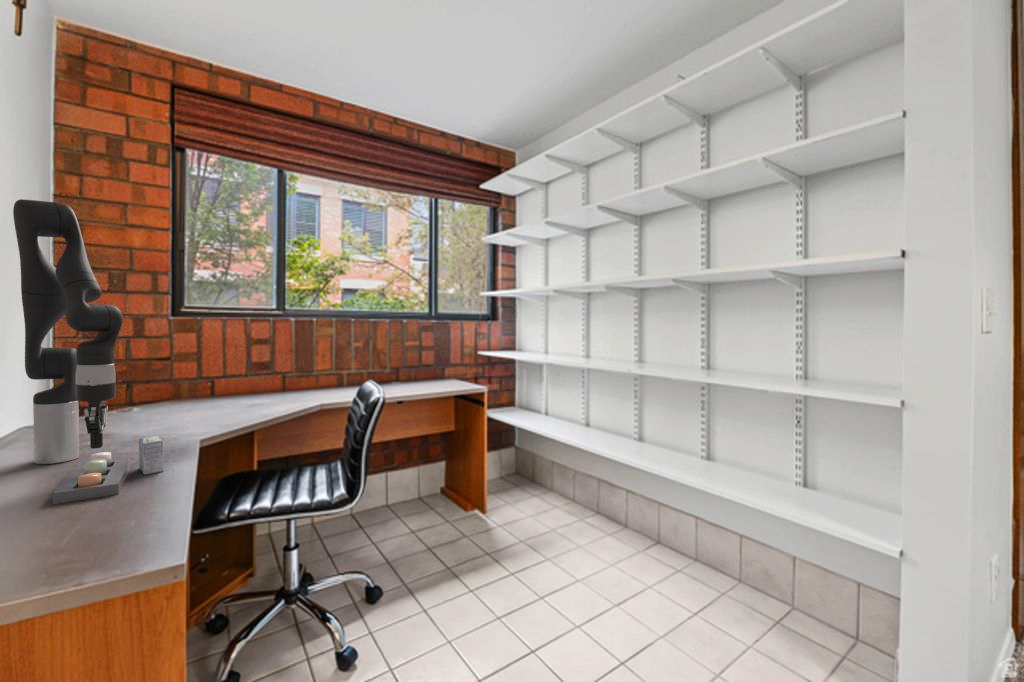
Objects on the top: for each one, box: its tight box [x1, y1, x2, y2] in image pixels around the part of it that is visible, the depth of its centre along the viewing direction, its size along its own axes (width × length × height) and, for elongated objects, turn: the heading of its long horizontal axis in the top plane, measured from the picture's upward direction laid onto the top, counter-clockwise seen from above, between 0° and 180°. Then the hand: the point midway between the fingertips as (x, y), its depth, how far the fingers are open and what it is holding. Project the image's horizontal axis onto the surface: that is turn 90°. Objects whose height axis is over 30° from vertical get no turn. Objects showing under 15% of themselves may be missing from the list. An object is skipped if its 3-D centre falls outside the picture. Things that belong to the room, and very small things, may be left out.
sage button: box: [84, 459, 107, 474], centre depth 111 cm, size 4×4×3 cm
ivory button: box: [90, 451, 112, 466], centre depth 117 cm, size 4×4×3 cm
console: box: [52, 458, 131, 505], centre depth 111 cm, size 24×11×2 cm, turn 36°
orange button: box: [78, 473, 101, 488], centre depth 104 cm, size 4×4×3 cm
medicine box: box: [138, 435, 165, 475], centre depth 122 cm, size 8×4×9 cm, turn 47°
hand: (96, 447), depth 114 cm, fingers closed
